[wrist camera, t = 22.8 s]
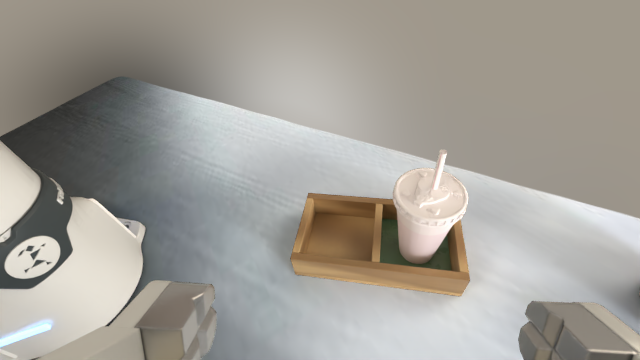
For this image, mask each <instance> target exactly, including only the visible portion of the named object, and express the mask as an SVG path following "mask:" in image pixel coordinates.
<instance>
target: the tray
mask: <svg viewBox="0 0 640 360" xmlns="http://www.w3.org/2000/svg"><path fill="white" fill-rule="evenodd" d="M290 259H291V262H292V265H293V268H294V271H295V274H296V275H303V276H311V277H318V278H326V279H333V280H341V281H349V282H356V283H364V284H371V285H379V286H386V287H394V288H402V289H409V290H417V291H424V292H432V293H439V294H447V295H455V296H461V295H462V294H463V292H464V290H465V288H466V287H467V285H468V283H469V281H470V277H469V270H468V264H467V257H466V251H465V245H464V238H463V232H462V226H461V219H460V220H459V221H457V222H456V223H455V224H453V226H452V227H451V229H450V230H449V232H448V233H447V235H446V236H445V238H444V240H443V241H442V243H441V244H440V246H439V247H438V249H437V250H436V252H435V254H434V255H433V257H432V258H431V259H430V260H429V261H428V262H426V263H423V264H414V263H411V262H409V261H407V260H406V259H405V258H404V257H403V256H402V255H401V253H400V250H399V237H398V221H397V209H396V207H395V205H394V202H393V199H380V198H367V197H354V196H341V195H328V194H315V193H308V196H307V200H306V204H305V207H304V211H303V214H302V218H301V222H300V225H299V229H298V233H297V236H296V240H295V243H294V247H293V251H292V254H291V258H290Z"/></svg>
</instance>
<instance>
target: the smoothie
mask: <svg viewBox="0 0 640 360" xmlns="http://www.w3.org/2000/svg"><path fill="white" fill-rule="evenodd" d="M446 155H447V151H446V150H440V153H439V157H438V161H437V165H436V169H433V168H418V169H413V170H410V171H408V172H406V173H404V174H403V175H401V176H400V177H399V179H398V180H397V181H396V183H395V187H394V191H393V202H394V205H395V207H396V209H397V221H398V237H399V250H400V253H401V255H402V256H403V257H404V258H405V259H406V260H407V261H409V262H411V263H414V264H423V263H426V262H428V261H429V260H430V259H431V258H432V257H433V255H434V254H435V252H436V250H437V249H438V247H439V246H440V244H441V243H442V241H443V240H444V238H445V236H446V235H447V233H448V232H449V230H450V229H451V227H452V226H453V224H455V223H456V222H457V221H459V220H460V219H461V218H462V217H463V215H464V214H465V212H466V207H467V204H468V193H467V190H466V188H465V187H464V185H463V184H462V183H461V182H460V181H459V180H458V179H457V178H456V177H454V176H453V175H451V174H449V173H447V172H444V171H442V170H443V166H444V162H445V158H446Z"/></svg>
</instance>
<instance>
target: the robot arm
mask: <svg viewBox="0 0 640 360" xmlns="http://www.w3.org/2000/svg"><path fill="white" fill-rule="evenodd" d="M144 234H145V226H144V225H142V224H141V223H140V222H138V221H133V220H127V219H121V218H116V217H114V216H113V215H112V214H111V213H110V212H109V211H108V210H107V209H105V208H104V207H103V206H102V205H101V204H100V203H99V202H97V201H96V200H94V199H92V198H91V199H86V198H82V197H69V195H68V194H67V193H66V192H64V191H63V190H62V188H61V186H60V185H59V184H57V183H56V182H55V181H54V180H53V179H51V178H49V177H47V176H46V175H45V174H44V173H43V172H41V171H39V170H37V169H33V168H30V167H29V166H28V165H26V164H25V163H24V162H23V161H22V160H21V159H20V158H19V157H18V156H17V155H15V154H14V153H13V152H12V151H11V150H10V149H9V148H8V147H7V146H6V145H4V144H3V143H2V142H1V141H0V360H31V359H34V358H38V357H40V358H38V359H36V360H201V358H202V357H203V356H204V355H206V354H207V353H208V352H209V350H210V348H211V346H212V343H213V340H214V336H215V332H216V325H217V314H216V311H215V310H214V309H213V308H212V307H211V305H212V303H213V301H214V299H215V290H214V286H213V285H212V284H204V283H191V282H177V281H174V282H172V281H160V280H154V281H152V282H149V283H148V284H147V285H146V287H145V288H144V289H143V290H142V291H141V292H140V293H139V294H138V295H137V296H136V297H135V299H134V300H133V301H132V302H131V303H130V304H129V305H128V306H127V307H126V308H125V309H124V311H123V312H122V313H121V314H120V315H119V316H118V317H117V318H116V319H115V320H114V321H113V322H112V324H111V325H110V326H109V327H108V326H106V325H107V324H108V323H109V322H110V321H111V320H112V319H113V318H114V317H115V316H116V315H117V314H118V313H119V312H120V311H121V309H122V308H123V307H124V306H125V304H126V303H127V302H128V300H129V299H130V297H131V296H132V294H133V292H134V290H135V289H136V286H137V284H138V282H139V279H140V276H141V273H142V268H143V256H142V251H141V243H142V240H143V237H144ZM525 315H526V317H527V318H528V320H529V322H528V323H527V324H525V325H524V326H523V327H522V328H521V330H520V334H519V338H518V341H519V347H520V352H521V354H522V357H523V359H524V360H640V335H639V334H637V333H636V332H635V331H634V330H632V329H631V328H630V327H628V326H627V325H626V324H625V323H623V322H622V321H621V320H620V319H618V318H617V317H616V316H615V315H613V314H612V313H611V312H610V311H608V310H607V309H606V308H605V307H603V306H601V305H599V304H596V303H586V302H573V303H564V302H543V301H532V302H531V303H530V304H529V305H528V307H527V310H526V313H525Z"/></svg>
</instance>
